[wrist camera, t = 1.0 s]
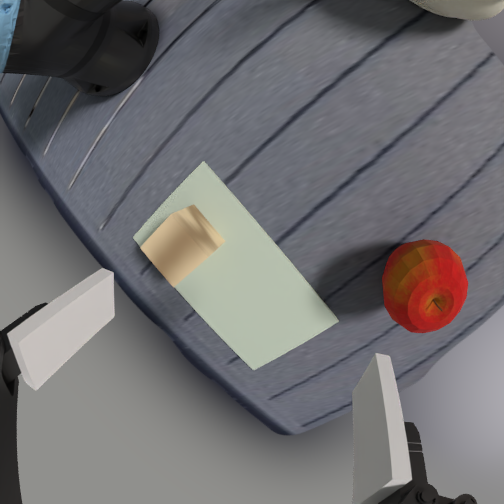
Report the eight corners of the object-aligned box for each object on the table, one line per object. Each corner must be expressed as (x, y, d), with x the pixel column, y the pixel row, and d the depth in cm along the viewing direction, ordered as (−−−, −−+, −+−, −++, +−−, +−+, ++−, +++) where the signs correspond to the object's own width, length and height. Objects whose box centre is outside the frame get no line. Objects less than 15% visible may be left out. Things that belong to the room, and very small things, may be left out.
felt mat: (134, 236, 40) (132, 237, 39) (204, 161, 34) (203, 161, 34) (254, 368, 42) (253, 370, 42) (338, 319, 37) (338, 321, 36)
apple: (423, 212, 30) (467, 240, 19) (451, 272, 31) (492, 319, 20) (359, 253, 34) (375, 299, 23) (392, 309, 35) (412, 368, 24)
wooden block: (164, 233, 38) (139, 247, 33) (193, 204, 36) (171, 213, 30) (194, 268, 39) (173, 287, 33) (225, 241, 36) (208, 257, 31)
